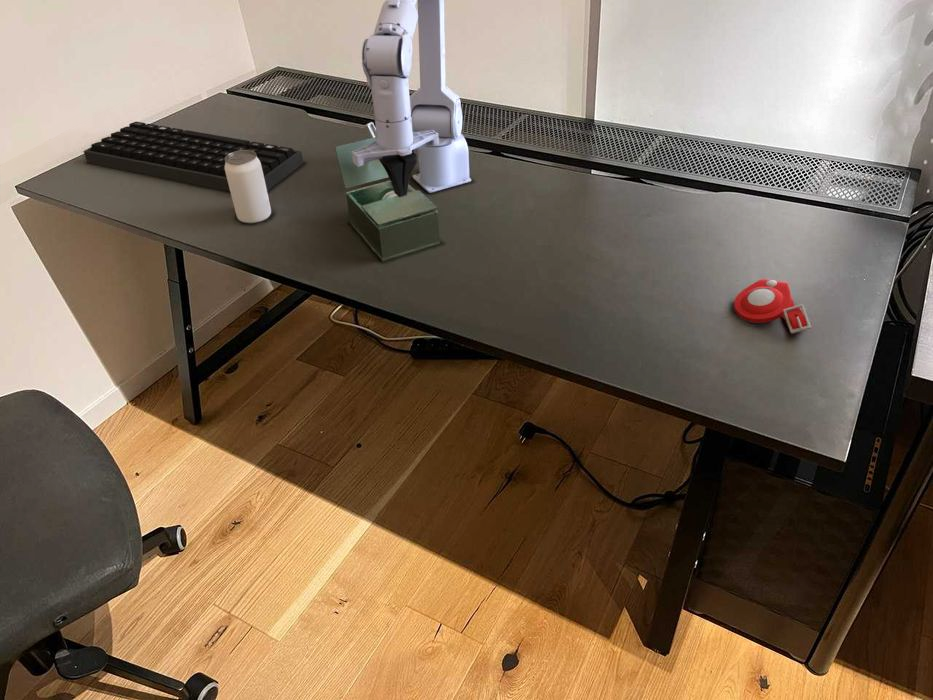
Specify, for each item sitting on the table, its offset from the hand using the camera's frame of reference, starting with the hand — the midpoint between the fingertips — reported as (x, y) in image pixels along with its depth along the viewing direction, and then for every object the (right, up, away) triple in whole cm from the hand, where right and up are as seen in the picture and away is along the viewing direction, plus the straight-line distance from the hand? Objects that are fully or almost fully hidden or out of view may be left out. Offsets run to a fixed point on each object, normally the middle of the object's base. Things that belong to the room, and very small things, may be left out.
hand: (400, 194), depth 128 cm
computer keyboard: (-47, +14, +35) cm, 61 cm away
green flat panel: (-7, +8, +9) cm, 14 cm away
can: (-29, -1, +17) cm, 34 cm away
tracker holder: (+57, -21, -13) cm, 62 cm away
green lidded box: (-2, -5, +10) cm, 11 cm away
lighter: (-7, +13, +33) cm, 36 cm away
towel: (-1, +2, +10) cm, 10 cm away
